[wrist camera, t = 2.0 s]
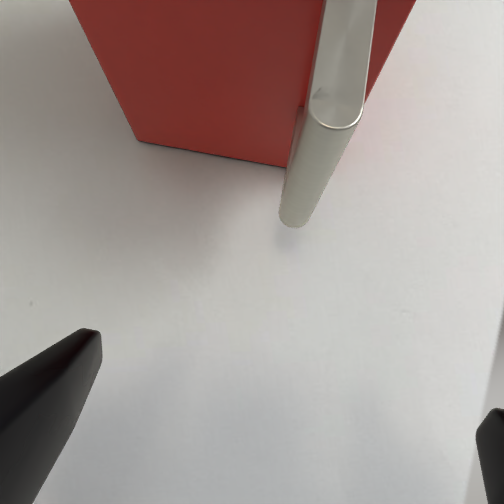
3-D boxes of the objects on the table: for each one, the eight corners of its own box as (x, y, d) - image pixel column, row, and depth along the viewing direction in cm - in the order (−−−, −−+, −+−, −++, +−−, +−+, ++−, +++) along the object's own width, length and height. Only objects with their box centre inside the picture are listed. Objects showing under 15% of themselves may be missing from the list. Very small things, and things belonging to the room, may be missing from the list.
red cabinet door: (316, 260, 22) (424, 128, 9) (113, 222, 22) (-65, 41, 9) (330, 163, 23) (441, -68, 10) (140, 129, 24) (19, -140, 11)
